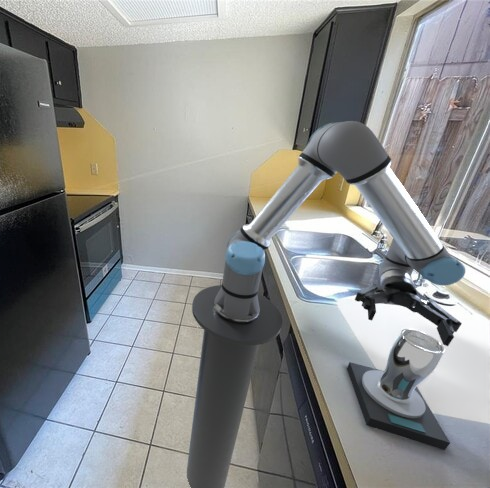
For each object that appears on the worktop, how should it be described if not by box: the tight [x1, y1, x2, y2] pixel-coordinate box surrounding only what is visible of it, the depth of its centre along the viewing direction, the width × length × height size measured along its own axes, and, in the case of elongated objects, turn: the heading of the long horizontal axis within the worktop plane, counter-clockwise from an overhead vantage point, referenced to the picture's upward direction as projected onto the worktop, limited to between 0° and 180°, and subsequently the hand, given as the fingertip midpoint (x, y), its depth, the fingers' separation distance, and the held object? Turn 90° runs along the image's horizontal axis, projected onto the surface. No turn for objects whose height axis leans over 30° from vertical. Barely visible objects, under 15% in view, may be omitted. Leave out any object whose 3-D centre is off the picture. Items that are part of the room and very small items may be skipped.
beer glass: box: [376, 328, 446, 404], centre depth 55 cm, size 7×7×15 cm
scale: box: [346, 361, 451, 451], centre depth 58 cm, size 15×13×3 cm
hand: (408, 327), depth 60 cm, fingers open, 13 cm apart
